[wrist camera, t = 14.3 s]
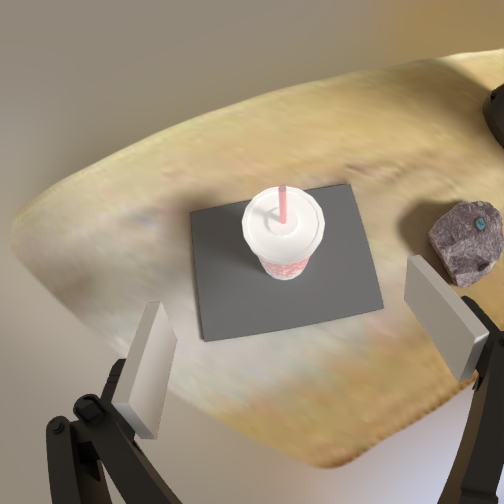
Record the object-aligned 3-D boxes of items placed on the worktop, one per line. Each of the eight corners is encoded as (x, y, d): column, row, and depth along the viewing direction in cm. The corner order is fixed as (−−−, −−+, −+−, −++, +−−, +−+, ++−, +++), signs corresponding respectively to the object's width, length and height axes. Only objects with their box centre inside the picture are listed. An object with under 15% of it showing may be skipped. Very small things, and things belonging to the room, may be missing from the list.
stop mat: (349, 186, 34) (349, 183, 33) (382, 308, 29) (384, 307, 29) (191, 214, 35) (190, 212, 34) (205, 341, 30) (204, 341, 30)
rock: (504, 251, 29) (525, 239, 25) (450, 300, 29) (471, 292, 24) (471, 198, 32) (488, 181, 28) (413, 239, 31) (428, 222, 27)
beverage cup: (314, 288, 30) (336, 238, 17) (251, 286, 31) (225, 236, 18) (314, 230, 32) (330, 148, 19) (255, 228, 33) (234, 147, 19)
